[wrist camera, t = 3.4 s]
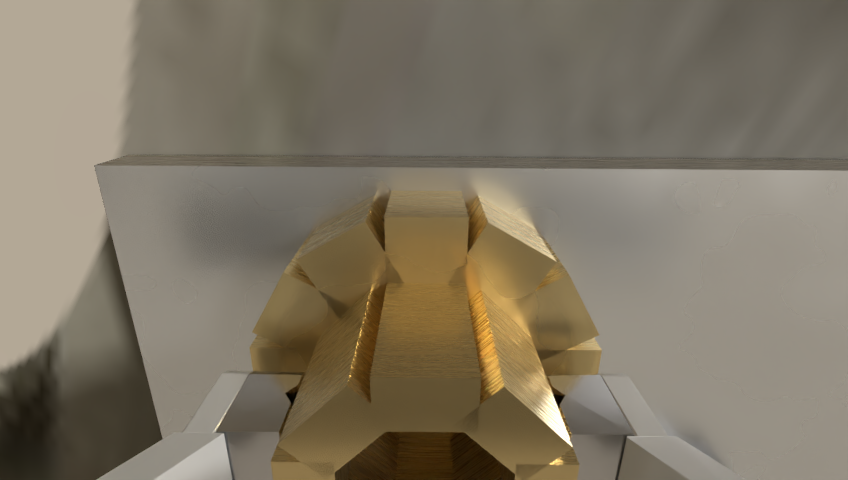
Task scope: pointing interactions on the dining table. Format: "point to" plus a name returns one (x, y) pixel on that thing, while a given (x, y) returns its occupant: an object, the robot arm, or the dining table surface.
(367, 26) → the dining table surface
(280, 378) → the robot arm
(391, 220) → the gear
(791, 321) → the plate
